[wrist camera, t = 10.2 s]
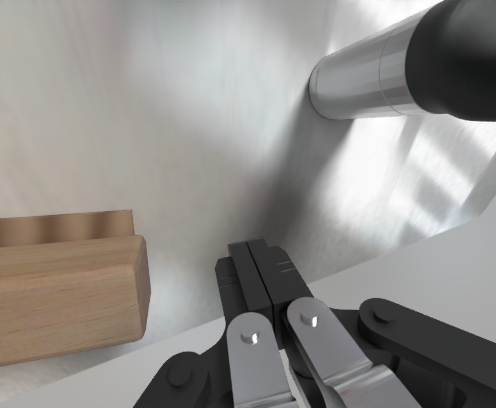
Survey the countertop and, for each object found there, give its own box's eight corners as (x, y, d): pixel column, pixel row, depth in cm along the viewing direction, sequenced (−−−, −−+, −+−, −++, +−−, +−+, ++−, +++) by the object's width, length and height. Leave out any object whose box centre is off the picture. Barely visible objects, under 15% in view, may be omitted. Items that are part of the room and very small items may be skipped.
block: (145, 343, 30) (-75, 385, 25) (152, 293, 40) (-8, 316, 35) (136, 266, 28) (-113, 296, 22) (145, 231, 37) (-30, 247, 32)
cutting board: (131, 209, 36) (130, 211, 36) (143, 307, 41) (143, 310, 40) (-70, 223, 31) (-76, 225, 30) (-31, 335, 35) (-35, 339, 34)
